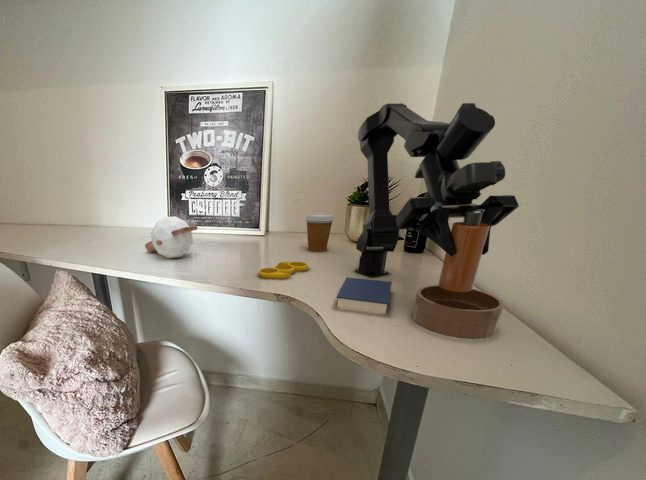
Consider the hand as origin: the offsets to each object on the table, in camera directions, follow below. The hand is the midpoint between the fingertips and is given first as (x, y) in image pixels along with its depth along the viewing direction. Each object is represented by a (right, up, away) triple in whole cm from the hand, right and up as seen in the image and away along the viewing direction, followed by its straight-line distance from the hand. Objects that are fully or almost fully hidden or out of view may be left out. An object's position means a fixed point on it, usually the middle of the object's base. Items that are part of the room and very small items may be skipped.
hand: (469, 254), depth 56 cm
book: (-11, -7, +18) cm, 22 cm away
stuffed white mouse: (-63, +9, +58) cm, 86 cm away
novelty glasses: (-26, +2, +39) cm, 47 cm away
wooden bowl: (+1, -12, +6) cm, 14 cm away
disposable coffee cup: (-11, +13, +63) cm, 66 cm away
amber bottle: (0, -5, +4) cm, 7 cm away
